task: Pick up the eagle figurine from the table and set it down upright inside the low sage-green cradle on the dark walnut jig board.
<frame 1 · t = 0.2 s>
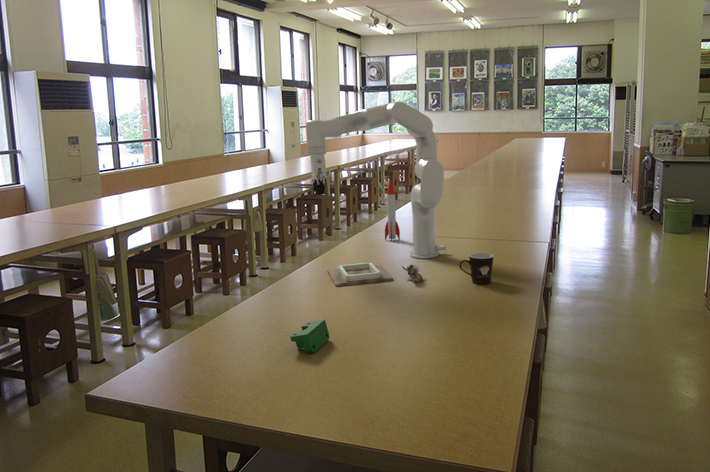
hand: (319, 192, 231), 31 cm above the table, tool pointing down, fingers open, 9 cm apart
toy rocket: (392, 240, 279), on the table
clamp: (310, 346, 154), on the table
jig board: (359, 276, 218), on the table
coffee mug: (477, 282, 204), on the table
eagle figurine: (413, 280, 210), on the table
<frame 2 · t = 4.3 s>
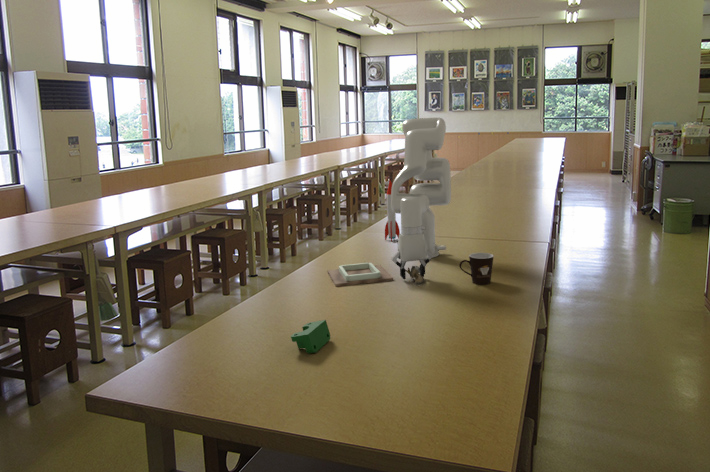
hand: (412, 276, 210), 1 cm above the table, tool pointing down, fingers closed on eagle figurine, 6 cm apart
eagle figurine: (414, 282, 208), on the table, touching gripper
everything else where it was.
when the fingers open (4 cm above the table, at t = 11.0 s): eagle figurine stays where it is, resting on jig board.
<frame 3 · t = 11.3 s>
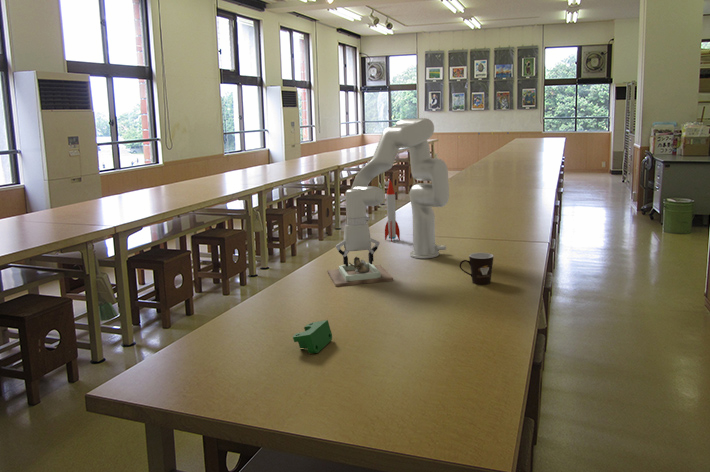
hand: (358, 264, 217), 5 cm above the table, tool pointing down, fingers open, 9 cm apart
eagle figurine: (360, 273, 215), point 2 cm above the table, touching jig board
everything else where it was.
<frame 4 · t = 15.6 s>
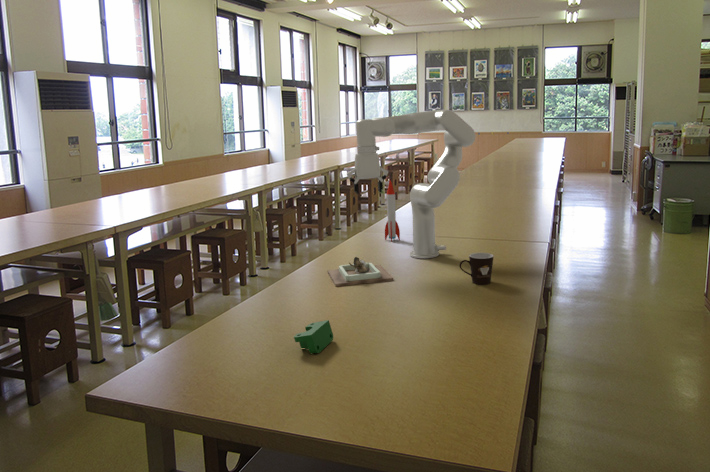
hand: (368, 192, 230), 30 cm above the table, tool pointing down, fingers open, 9 cm apart
at the end: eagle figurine 2.6 cm off-centre on the jig board, point 1.8 cm above the jig board's base; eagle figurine tilted 14°; the gripper is holding nothing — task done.
